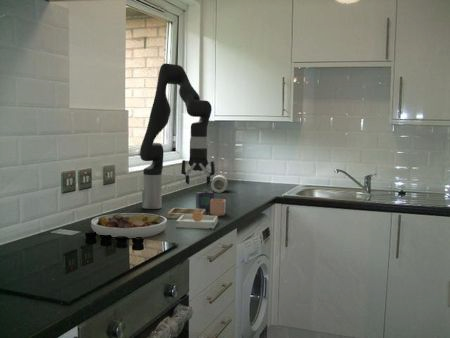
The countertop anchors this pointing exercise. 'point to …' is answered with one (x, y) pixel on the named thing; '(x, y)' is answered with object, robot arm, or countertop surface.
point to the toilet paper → (219, 189)
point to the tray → (197, 222)
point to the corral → (180, 211)
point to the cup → (217, 207)
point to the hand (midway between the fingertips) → (197, 184)
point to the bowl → (129, 225)
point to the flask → (204, 199)
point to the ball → (197, 216)
